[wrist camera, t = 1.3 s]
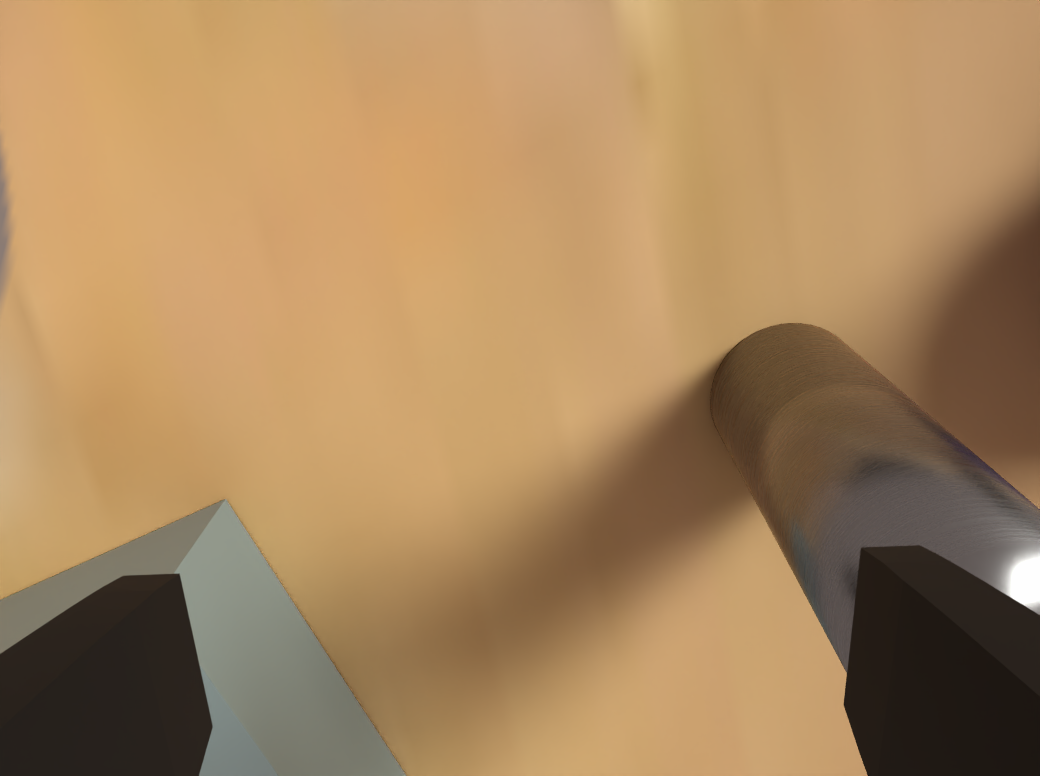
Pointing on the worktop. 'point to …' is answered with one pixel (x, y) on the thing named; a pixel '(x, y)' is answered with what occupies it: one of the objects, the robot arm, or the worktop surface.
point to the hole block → (233, 651)
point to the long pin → (861, 473)
